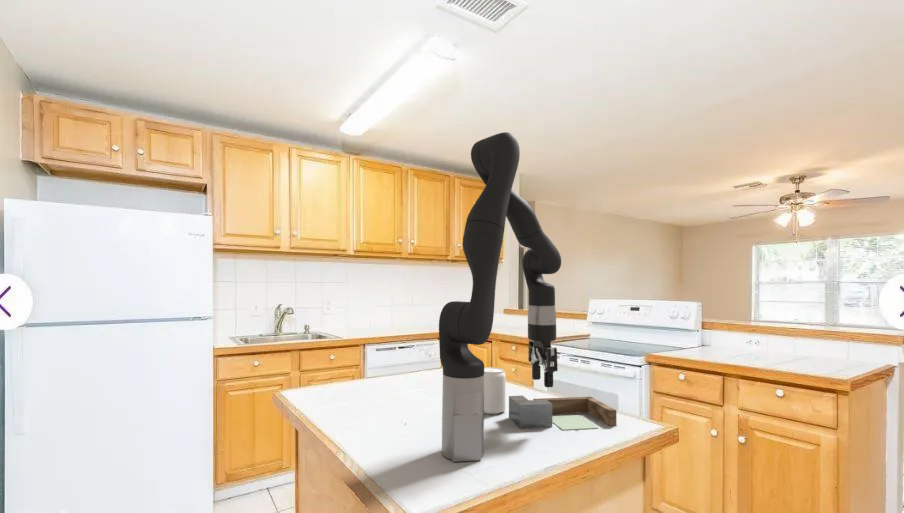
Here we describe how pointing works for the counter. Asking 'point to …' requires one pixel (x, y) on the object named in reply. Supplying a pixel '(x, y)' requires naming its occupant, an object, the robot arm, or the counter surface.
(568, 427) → the mat
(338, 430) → the counter surface
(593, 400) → the wooden corner fixture
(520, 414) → the bracket
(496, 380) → the beverage can
